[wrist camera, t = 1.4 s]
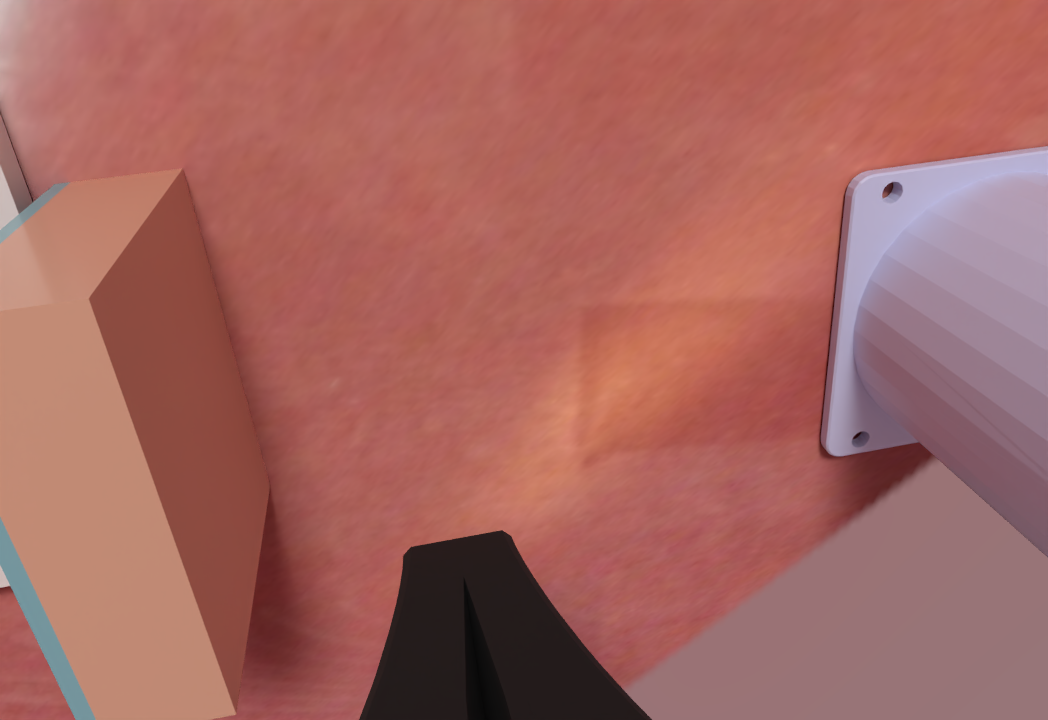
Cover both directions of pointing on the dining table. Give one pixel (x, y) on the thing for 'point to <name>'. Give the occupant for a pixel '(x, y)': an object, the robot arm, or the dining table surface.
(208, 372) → the glazed tile
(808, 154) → the dining table surface
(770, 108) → the dining table surface
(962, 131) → the dining table surface
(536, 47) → the dining table surface
